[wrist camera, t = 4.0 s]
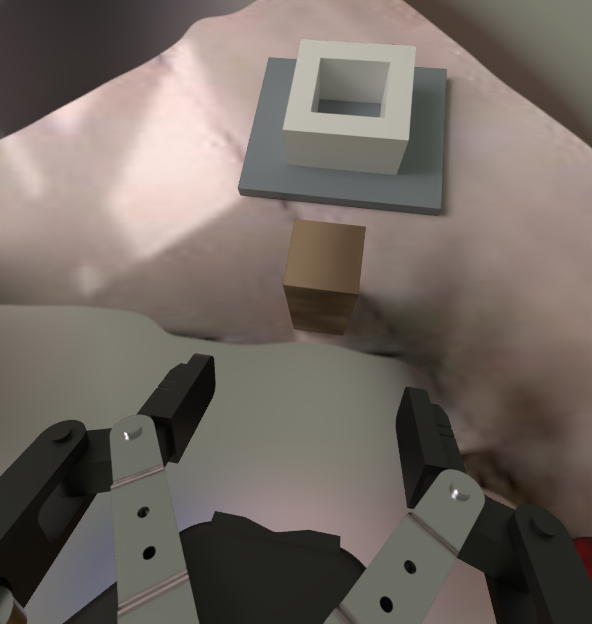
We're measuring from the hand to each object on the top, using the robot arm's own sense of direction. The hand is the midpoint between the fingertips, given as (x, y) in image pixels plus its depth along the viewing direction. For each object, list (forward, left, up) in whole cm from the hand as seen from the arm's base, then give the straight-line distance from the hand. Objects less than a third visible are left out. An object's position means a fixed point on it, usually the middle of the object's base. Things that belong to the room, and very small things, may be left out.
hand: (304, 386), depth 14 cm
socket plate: (0, +25, -12) cm, 28 cm away
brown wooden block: (0, +7, -12) cm, 14 cm away
